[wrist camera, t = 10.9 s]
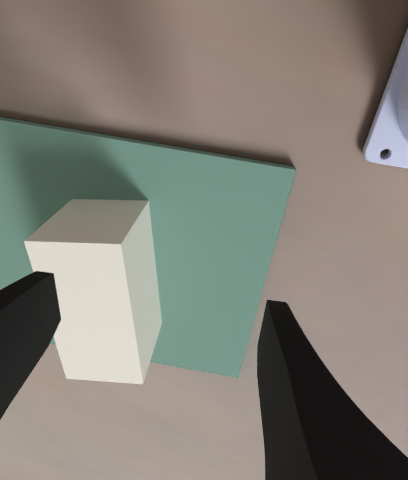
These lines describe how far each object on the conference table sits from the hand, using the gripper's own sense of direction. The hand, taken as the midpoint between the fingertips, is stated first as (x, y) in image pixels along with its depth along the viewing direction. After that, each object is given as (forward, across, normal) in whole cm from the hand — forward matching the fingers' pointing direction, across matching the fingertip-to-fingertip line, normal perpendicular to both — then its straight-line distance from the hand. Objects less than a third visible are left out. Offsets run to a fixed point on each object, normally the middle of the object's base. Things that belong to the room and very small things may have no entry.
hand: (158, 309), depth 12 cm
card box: (+9, +4, +5) cm, 11 cm away
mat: (+9, +4, +5) cm, 11 cm away
